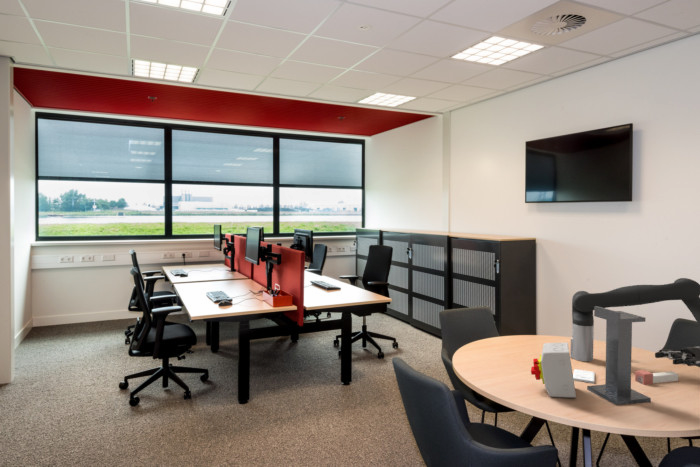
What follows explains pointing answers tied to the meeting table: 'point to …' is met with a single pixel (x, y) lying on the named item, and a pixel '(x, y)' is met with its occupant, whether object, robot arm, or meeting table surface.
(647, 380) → the white bar pink end
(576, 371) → the external hard drive
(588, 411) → the meeting table surface
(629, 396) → the headphone stand
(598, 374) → the meeting table surface
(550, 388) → the electrical switch box
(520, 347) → the meeting table surface
